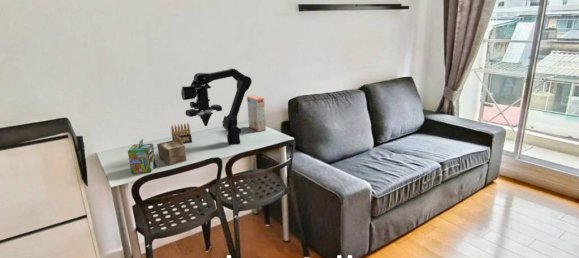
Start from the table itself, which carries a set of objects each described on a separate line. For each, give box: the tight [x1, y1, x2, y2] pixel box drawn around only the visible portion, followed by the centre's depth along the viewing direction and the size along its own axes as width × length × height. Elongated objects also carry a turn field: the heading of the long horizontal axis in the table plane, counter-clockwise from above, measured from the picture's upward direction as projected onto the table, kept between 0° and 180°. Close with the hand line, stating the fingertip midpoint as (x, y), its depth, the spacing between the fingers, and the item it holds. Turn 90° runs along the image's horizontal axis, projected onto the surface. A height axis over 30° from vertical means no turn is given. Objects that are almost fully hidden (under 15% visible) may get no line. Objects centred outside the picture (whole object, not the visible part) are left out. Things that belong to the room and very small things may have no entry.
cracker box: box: [246, 94, 267, 133], centre depth 220 cm, size 14×6×21 cm, turn 30°
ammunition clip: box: [170, 122, 193, 145], centre depth 198 cm, size 11×2×12 cm, turn 116°
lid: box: [161, 135, 184, 149], centre depth 173 cm, size 8×11×4 cm
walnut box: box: [156, 140, 187, 167], centre depth 174 cm, size 9×13×8 cm
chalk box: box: [127, 138, 157, 174], centre depth 162 cm, size 9×9×15 cm
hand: (205, 125), depth 186 cm, fingers closed
